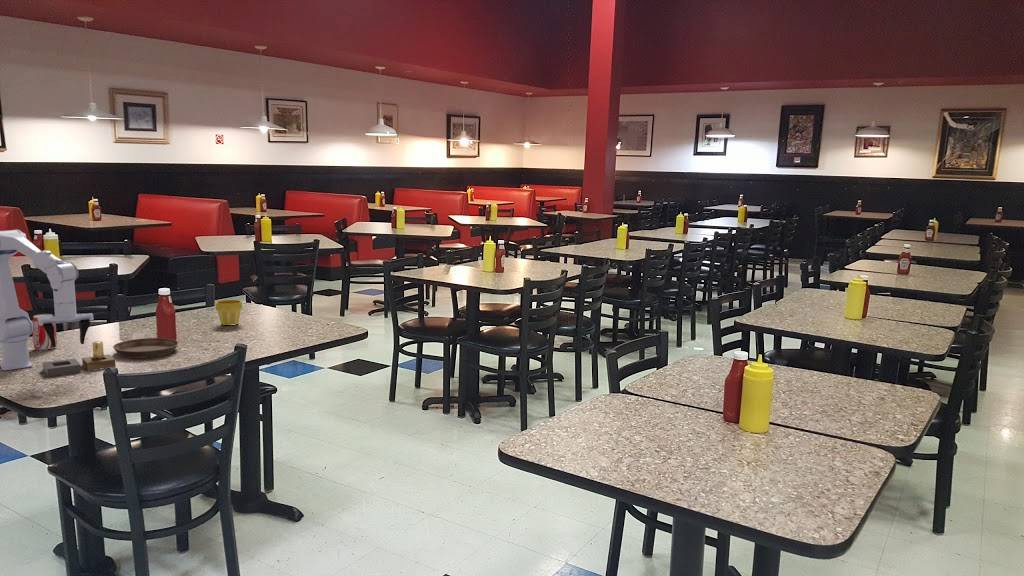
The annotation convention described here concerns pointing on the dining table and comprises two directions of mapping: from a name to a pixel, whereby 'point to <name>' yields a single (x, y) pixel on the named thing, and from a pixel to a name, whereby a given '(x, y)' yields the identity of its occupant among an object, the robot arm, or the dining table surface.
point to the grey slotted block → (61, 367)
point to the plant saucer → (145, 347)
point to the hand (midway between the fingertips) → (68, 345)
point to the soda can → (42, 334)
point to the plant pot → (229, 311)
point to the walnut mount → (98, 362)
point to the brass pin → (98, 351)
